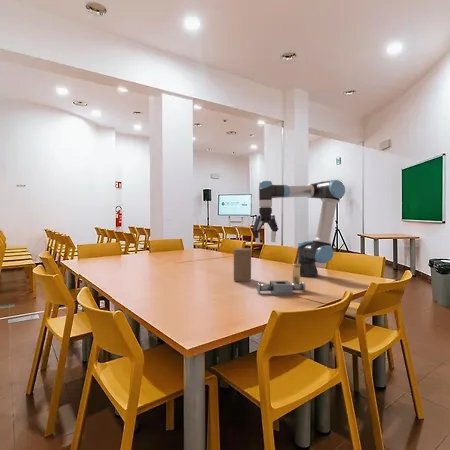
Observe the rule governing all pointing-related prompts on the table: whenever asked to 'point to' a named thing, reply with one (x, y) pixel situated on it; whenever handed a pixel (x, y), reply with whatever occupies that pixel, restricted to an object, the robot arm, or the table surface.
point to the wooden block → (242, 264)
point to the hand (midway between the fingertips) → (265, 242)
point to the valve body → (281, 287)
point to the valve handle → (296, 273)
